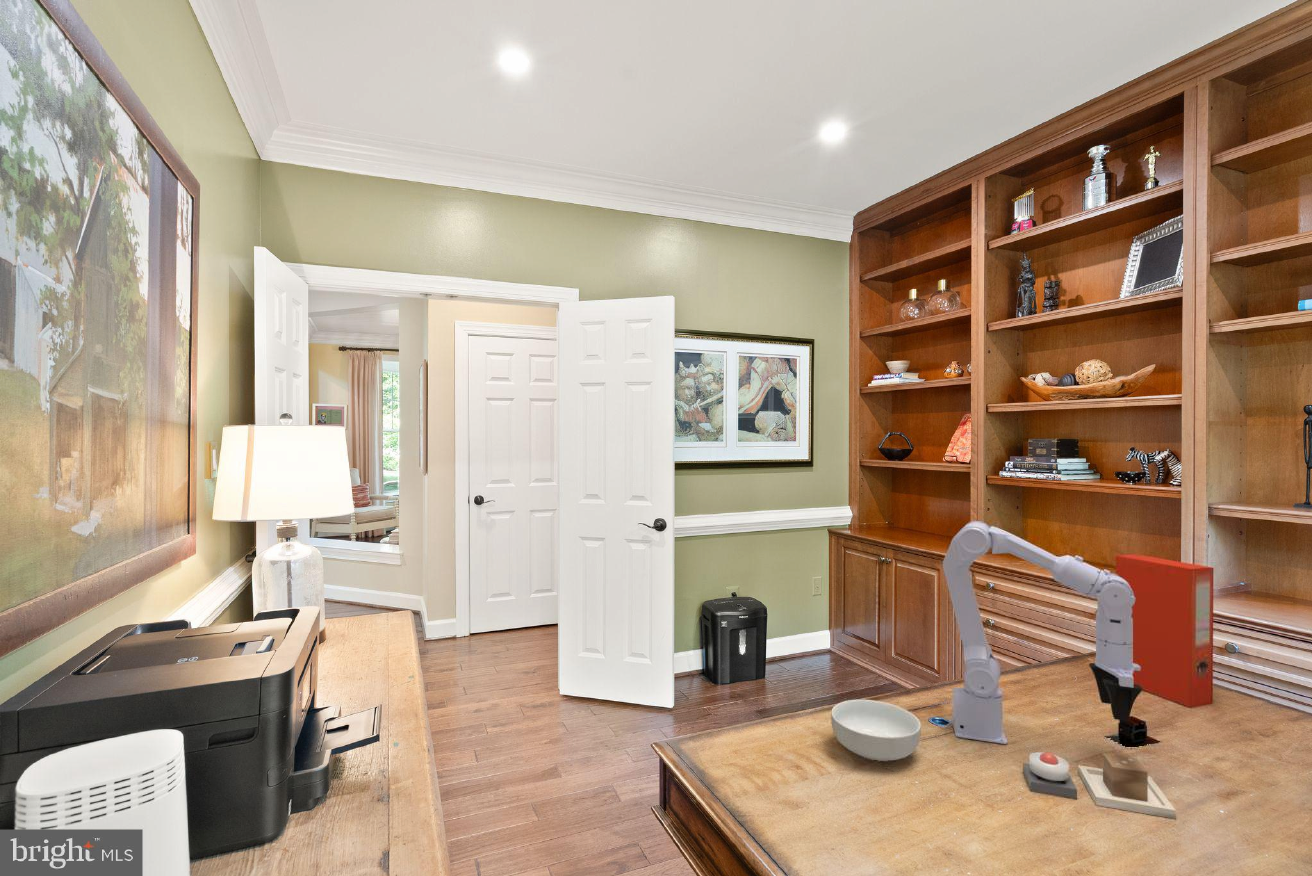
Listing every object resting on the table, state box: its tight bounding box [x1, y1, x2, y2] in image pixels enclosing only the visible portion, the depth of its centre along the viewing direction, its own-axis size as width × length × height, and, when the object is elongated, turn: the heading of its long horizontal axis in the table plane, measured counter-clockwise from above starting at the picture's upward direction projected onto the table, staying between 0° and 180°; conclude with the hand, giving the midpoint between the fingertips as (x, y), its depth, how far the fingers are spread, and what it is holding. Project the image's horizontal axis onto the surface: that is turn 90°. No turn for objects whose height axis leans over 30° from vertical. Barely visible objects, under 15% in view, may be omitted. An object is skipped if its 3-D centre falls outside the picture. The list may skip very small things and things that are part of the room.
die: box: [1102, 752, 1149, 802], centre depth 109 cm, size 5×5×5 cm
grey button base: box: [1022, 762, 1078, 800], centre depth 113 cm, size 7×7×2 cm
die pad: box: [1077, 764, 1177, 820], centre depth 109 cm, size 11×11×1 cm
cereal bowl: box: [830, 699, 922, 762], centre depth 124 cm, size 17×17×7 cm
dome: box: [1028, 751, 1070, 783], centre depth 113 cm, size 6×6×5 cm
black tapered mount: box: [1103, 715, 1162, 750], centre depth 130 cm, size 12×7×5 cm, turn 107°
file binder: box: [1115, 553, 1215, 709], centre depth 154 cm, size 8×17×32 cm, turn 17°
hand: (1114, 710), depth 120 cm, fingers open, 7 cm apart
